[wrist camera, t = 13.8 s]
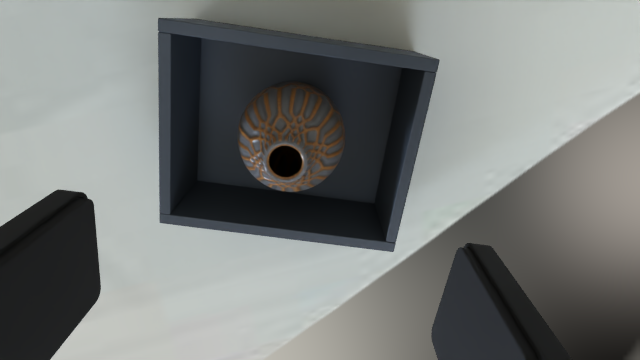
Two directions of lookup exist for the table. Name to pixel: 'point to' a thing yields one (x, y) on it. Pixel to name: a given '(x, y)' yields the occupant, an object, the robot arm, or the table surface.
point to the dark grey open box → (233, 97)
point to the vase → (291, 136)
